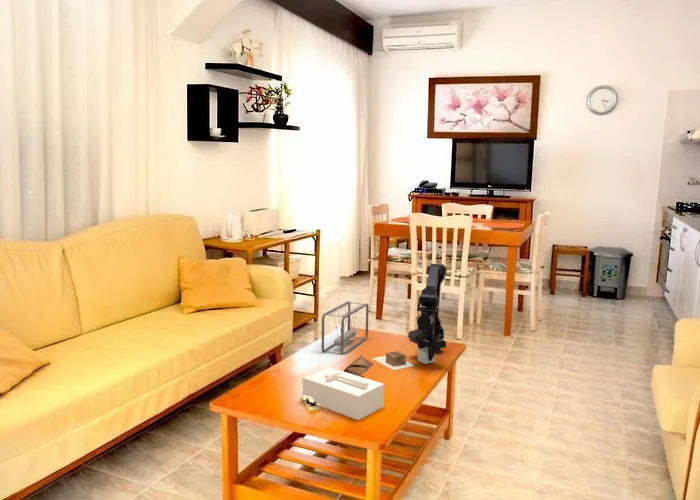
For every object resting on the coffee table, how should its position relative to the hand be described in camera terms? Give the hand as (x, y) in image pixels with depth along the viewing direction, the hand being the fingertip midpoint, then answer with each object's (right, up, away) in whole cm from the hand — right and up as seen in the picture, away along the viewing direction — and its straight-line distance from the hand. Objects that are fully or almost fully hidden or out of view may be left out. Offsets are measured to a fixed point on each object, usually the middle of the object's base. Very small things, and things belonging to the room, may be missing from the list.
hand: (426, 358), depth 254 cm
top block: (0, -1, 0) cm, 1 cm away
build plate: (-14, -2, 0) cm, 14 cm away
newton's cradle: (-34, +1, +24) cm, 42 cm away
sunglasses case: (-28, -4, -7) cm, 29 cm away
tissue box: (-35, -9, -41) cm, 54 cm away
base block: (-13, -2, -2) cm, 13 cm away
